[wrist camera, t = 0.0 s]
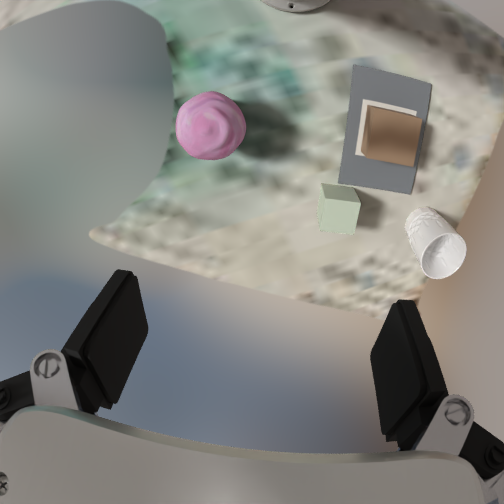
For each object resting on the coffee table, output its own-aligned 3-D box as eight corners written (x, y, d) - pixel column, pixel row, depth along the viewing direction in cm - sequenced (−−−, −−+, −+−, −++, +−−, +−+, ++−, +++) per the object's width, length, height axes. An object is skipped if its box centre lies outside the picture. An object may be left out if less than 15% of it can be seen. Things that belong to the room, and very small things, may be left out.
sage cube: (321, 183, 46) (325, 198, 40) (353, 187, 45) (361, 202, 40) (316, 212, 48) (319, 231, 43) (347, 216, 48) (353, 234, 43)
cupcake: (263, 123, 42) (256, 136, 33) (218, 159, 45) (201, 181, 37) (222, 77, 38) (204, 79, 30) (179, 116, 42) (152, 129, 34)
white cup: (442, 200, 44) (469, 229, 36) (440, 241, 48) (462, 274, 40) (400, 206, 46) (422, 237, 37) (401, 247, 50) (418, 283, 41)
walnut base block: (367, 104, 38) (374, 107, 34) (411, 114, 37) (422, 119, 34) (360, 150, 41) (366, 158, 38) (403, 159, 41) (413, 166, 38)
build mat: (353, 64, 35) (354, 64, 35) (430, 83, 35) (431, 83, 34) (338, 182, 45) (338, 183, 45) (409, 193, 44) (410, 194, 44)
